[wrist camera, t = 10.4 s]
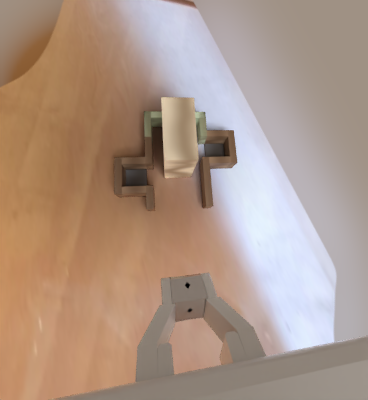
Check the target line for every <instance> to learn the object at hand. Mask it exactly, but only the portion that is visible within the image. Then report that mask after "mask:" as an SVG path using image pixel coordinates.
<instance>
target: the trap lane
mask: <svg viewBox="0 0 368 400" xmlns="http://www.w3.org/2000/svg"><path fill="white" fill-rule="evenodd" d="M195 119H196V127H197V137H198V144H204V145H205V157H202V159H201V161H200V176H201V190H202V203H203V208H210V207H212V206H213V198H212V187H211V175H210V169H216V168H232V167H233V166H234V165H235V164H236V163H237V156H236V147H235V138H234V130H207V128H206V117H205V112H195ZM152 127H162V112H150V111H144V131H145V157H115V166H114V194H115V195H117V196H118V197H135V196H146V208H147V210H148V211H155V198H154V187H153V186H147V169H154V168H153V138H152Z"/></svg>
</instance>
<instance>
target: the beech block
mask: <svg viewBox="0 0 368 400" xmlns="http://www.w3.org/2000/svg"><path fill="white" fill-rule="evenodd" d="M161 104H162V129H163V152H164V176H165V178H181V177H191V175H192V173H193V171H194V168H195V166H196V164H197V162H198V160H199V159H198V146H197V132H196V119H195V106H194V98H173V97H161Z"/></svg>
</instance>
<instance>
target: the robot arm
mask: <svg viewBox="0 0 368 400" xmlns="http://www.w3.org/2000/svg"><path fill="white" fill-rule="evenodd" d="M161 290H162V305H160V306H159V308H158V310H157V312H156V313H155V315H154V317H153V319H152V321H151V323H150V325H149V327H148V328H147V330H146V332H145V334H144V336H143V338H142V340H141V342H140V343H139V345H138V350H137V366H136V382H134V383H129V384H124V385H119V386H114V387H109V388H104V389H99V390H94V391H89V392H85V393H80V394H75V395H70V396H65V397H60V398H55V399H50V400H368V336H363V337H358V338H353V339H348V340H344V341H339V342H333V343H328V344H323V345H318V346H313V347H308V348H303V349H298V350H293V351H288V352H283V353H278V354H273V355H268V356H266V355H265V352H264V350H263V348H262V346H261V343H260V341H259V339H258V337H257V335H256V332H255V330H254V328H253V327H252V326H251V325H250V324H249V323H248V322H247V321H246V320H245V319H244V318H243V317H242V316H240V315H239V314H238V313H237V312H236V311H235V310H234V309H233V308H232V307H231V306H229V305H228V304H227V303H226V302H225V301H224V300H223V299H222V298H221V297H217V294H216V291H215V288H214V285H213V282H212V279H211V276H210V274H209V273H203V274H193V275H186V276H180V277H170V278H161ZM196 318H204V320H205V321H206V322H207V323H208V325H209V326H210V327H211V328H212V330H213V331H214V332H215V333H216V335H217V336H218V337H219V338H220V340H221V341H222V342H223V346H222V350H221V354H220V361H221V365H219V366H214V367H209V368H204V369H199V370H194V371H189V372H184V373H179V374H174V368H173V357H172V346H171V344H169V343H168V341H169V338H170V336H171V333H172V330H173V328H174V325H175V322H178V321H184V320H189V319H196Z"/></svg>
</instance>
